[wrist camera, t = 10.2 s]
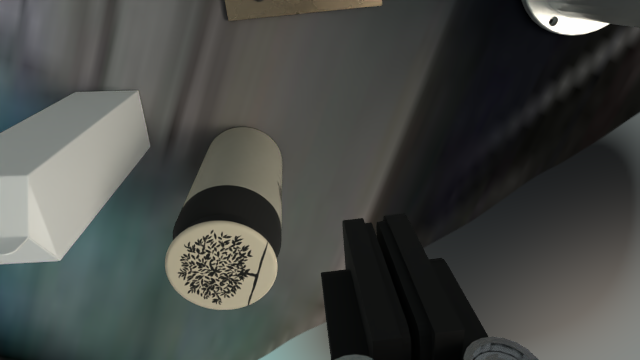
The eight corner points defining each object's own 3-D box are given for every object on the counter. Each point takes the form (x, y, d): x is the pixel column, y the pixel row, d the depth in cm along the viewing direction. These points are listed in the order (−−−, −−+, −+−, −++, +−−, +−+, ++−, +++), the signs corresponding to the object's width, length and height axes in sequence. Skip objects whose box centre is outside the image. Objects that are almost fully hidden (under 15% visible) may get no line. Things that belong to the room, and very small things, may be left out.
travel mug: (197, 178, 43) (146, 295, 27) (222, 113, 40) (181, 203, 24) (265, 203, 45) (254, 325, 29) (294, 143, 42) (299, 244, 26)
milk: (151, 146, 41) (34, 300, 22) (91, 148, 41) (-83, 307, 21) (138, 88, 39) (-9, 205, 19) (73, 90, 38) (-145, 211, 19)
